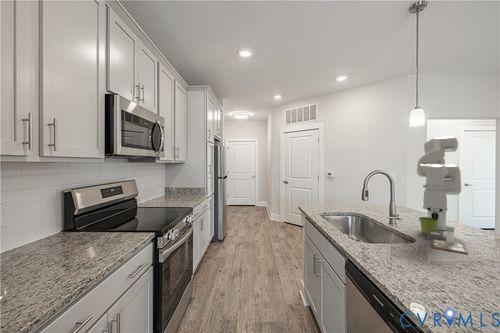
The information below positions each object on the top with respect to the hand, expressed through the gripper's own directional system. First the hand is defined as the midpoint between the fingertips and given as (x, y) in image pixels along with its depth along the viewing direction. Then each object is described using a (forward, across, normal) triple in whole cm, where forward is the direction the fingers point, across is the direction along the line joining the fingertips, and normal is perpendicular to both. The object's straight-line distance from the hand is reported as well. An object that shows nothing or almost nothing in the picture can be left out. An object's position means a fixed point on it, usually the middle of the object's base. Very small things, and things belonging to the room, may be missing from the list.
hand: (434, 219), depth 128 cm
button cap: (+9, 0, -2) cm, 10 cm away
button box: (+10, 0, -2) cm, 10 cm away
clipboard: (+9, +5, -14) cm, 18 cm away
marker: (+9, +6, -10) cm, 15 cm away
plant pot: (+11, -3, +8) cm, 14 cm away
